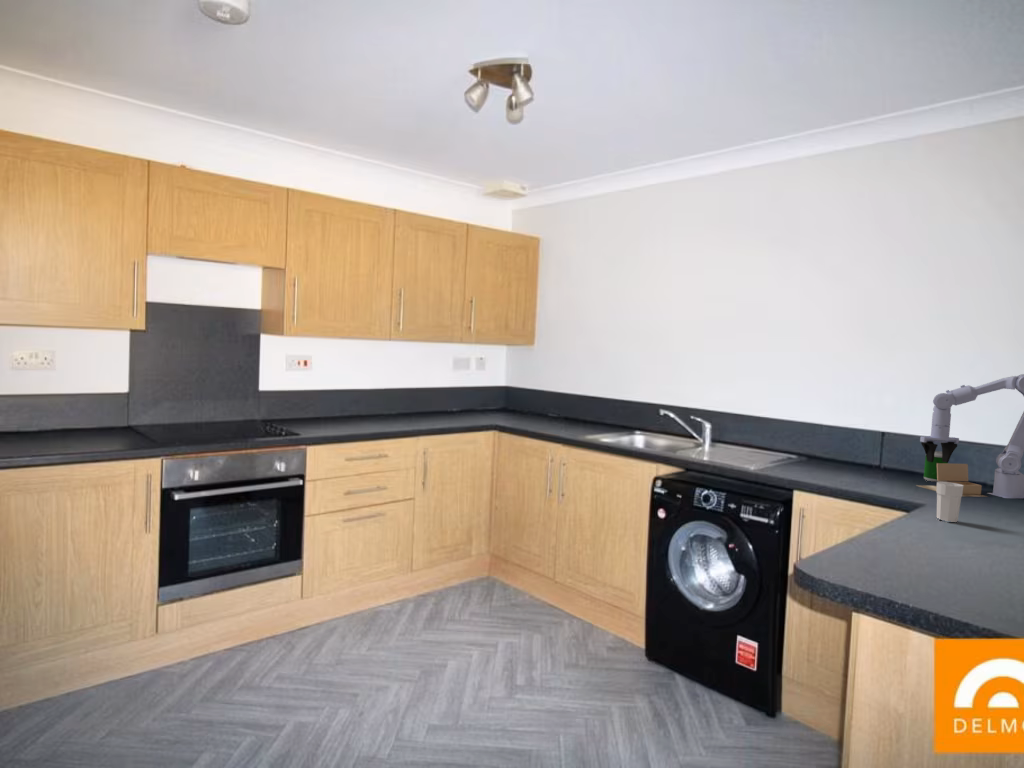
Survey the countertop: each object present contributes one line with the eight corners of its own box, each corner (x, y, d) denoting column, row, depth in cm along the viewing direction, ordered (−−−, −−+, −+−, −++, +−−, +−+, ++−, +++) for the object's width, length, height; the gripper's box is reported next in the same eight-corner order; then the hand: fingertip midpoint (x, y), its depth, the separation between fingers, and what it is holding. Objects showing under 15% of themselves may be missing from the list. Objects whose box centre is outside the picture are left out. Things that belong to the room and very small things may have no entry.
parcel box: (966, 491, 237) (967, 481, 237) (980, 495, 231) (981, 485, 231) (937, 490, 235) (937, 481, 235) (950, 494, 229) (951, 484, 229)
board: (948, 487, 246) (948, 485, 246) (988, 498, 229) (988, 496, 229) (915, 487, 244) (915, 485, 244) (953, 497, 227) (953, 496, 227)
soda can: (942, 484, 251) (945, 453, 250) (920, 481, 256) (923, 451, 256) (948, 482, 256) (951, 452, 255) (927, 479, 261) (929, 449, 261)
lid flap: (968, 481, 236) (967, 481, 237) (967, 463, 237) (966, 463, 237) (938, 480, 234) (937, 480, 235) (937, 463, 235) (936, 463, 236)
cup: (948, 524, 188) (951, 486, 188) (928, 518, 195) (931, 481, 194) (966, 523, 190) (969, 486, 190) (945, 517, 197) (948, 481, 196)
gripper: (949, 424, 247) (946, 460, 248) (915, 423, 245) (912, 459, 245) (964, 427, 240) (961, 463, 241) (929, 426, 238) (926, 462, 239)
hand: (937, 461), depth 243 cm, fingers open, 6 cm apart
